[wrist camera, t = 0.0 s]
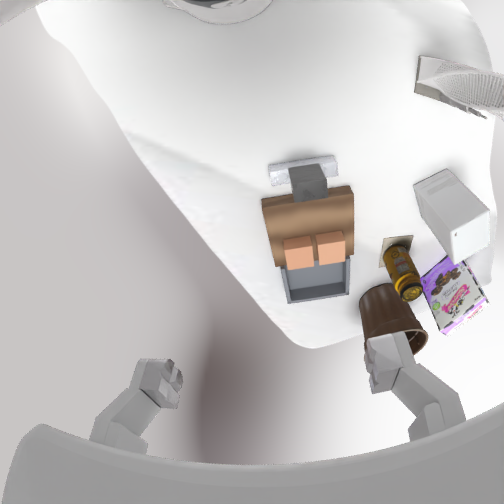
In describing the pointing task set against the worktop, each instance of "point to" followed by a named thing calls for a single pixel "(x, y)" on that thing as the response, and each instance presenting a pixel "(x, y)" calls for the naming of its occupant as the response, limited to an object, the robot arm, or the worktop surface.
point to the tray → (316, 281)
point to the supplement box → (453, 215)
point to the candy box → (453, 294)
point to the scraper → (305, 177)
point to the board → (309, 220)
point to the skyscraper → (461, 86)
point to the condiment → (401, 267)
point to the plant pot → (390, 317)
